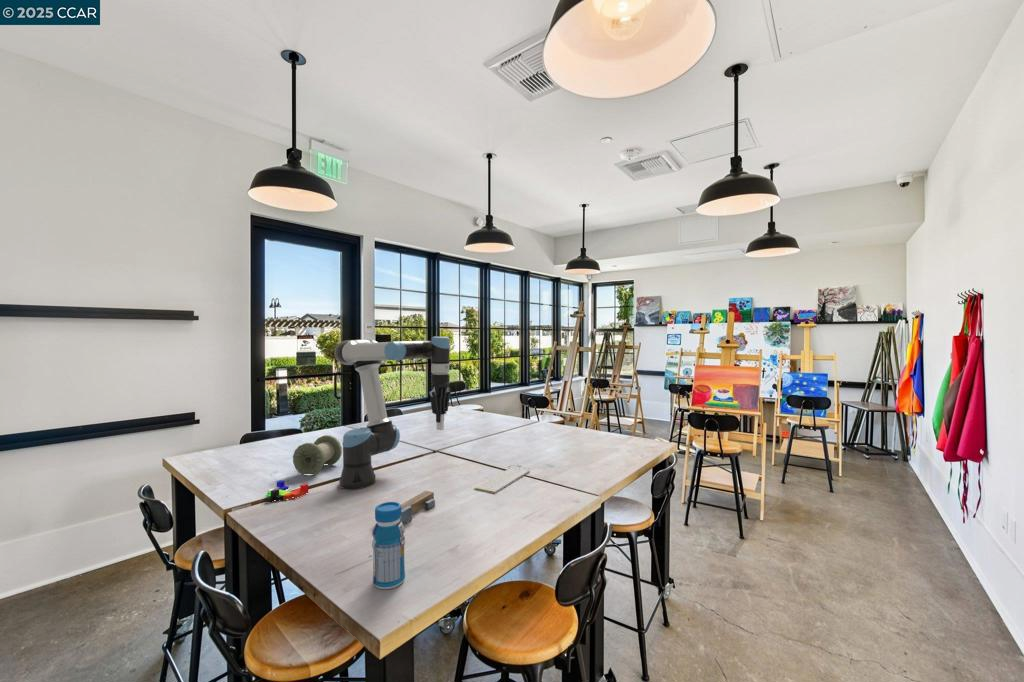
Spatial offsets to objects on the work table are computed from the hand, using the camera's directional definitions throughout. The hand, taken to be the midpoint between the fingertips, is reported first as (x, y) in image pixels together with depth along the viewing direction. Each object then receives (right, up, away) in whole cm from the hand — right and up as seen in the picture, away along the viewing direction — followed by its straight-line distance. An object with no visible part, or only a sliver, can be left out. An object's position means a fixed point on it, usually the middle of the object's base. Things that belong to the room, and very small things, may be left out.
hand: (440, 429), depth 178 cm
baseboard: (+26, -26, +12) cm, 38 cm away
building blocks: (-63, -27, -6) cm, 69 cm away
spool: (-64, -26, +28) cm, 75 cm away
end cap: (-11, -26, -30) cm, 41 cm away
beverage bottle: (-2, -27, -66) cm, 71 cm away
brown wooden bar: (-6, -26, -19) cm, 33 cm away
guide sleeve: (-4, -26, -16) cm, 31 cm away
